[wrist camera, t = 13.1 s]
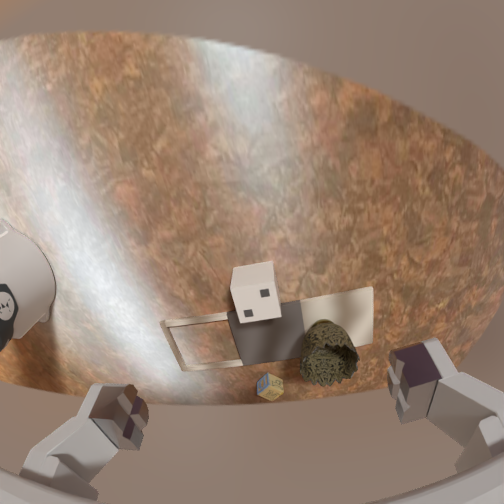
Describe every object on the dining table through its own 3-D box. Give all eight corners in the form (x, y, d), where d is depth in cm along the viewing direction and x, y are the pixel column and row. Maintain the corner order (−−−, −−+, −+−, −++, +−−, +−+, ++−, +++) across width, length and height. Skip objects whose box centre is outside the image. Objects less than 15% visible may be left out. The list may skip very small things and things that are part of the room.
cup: (342, 346, 45) (351, 386, 38) (293, 345, 45) (296, 387, 38) (353, 306, 41) (366, 346, 34) (299, 304, 42) (304, 346, 34)
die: (242, 300, 42) (240, 323, 38) (233, 267, 40) (229, 288, 36) (279, 294, 42) (281, 317, 37) (272, 260, 40) (274, 281, 35)
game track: (183, 368, 48) (182, 371, 48) (160, 320, 44) (159, 323, 44) (371, 340, 45) (372, 343, 45) (371, 286, 41) (373, 288, 40)
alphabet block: (268, 371, 48) (268, 385, 45) (283, 379, 49) (284, 393, 46) (256, 381, 49) (256, 395, 46) (271, 388, 50) (271, 402, 47)
